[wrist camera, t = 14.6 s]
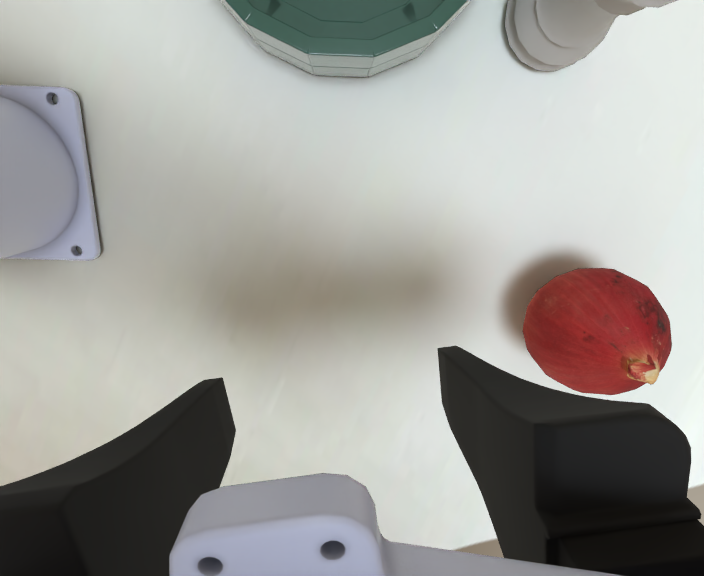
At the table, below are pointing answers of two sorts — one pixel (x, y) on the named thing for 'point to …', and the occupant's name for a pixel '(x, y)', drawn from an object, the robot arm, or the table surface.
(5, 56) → the table surface
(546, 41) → the rook chess piece
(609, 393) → the onion
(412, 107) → the table surface
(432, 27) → the green faceted bowl
